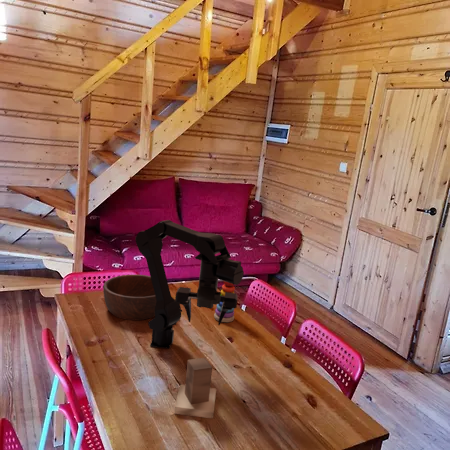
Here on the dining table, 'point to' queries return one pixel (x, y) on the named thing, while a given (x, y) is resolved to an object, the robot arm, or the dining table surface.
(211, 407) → the birch plinth
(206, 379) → the walnut pillar
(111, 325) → the dining table surface
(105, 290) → the wooden bowl
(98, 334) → the dining table surface
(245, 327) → the dining table surface
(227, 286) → the stacking toy
